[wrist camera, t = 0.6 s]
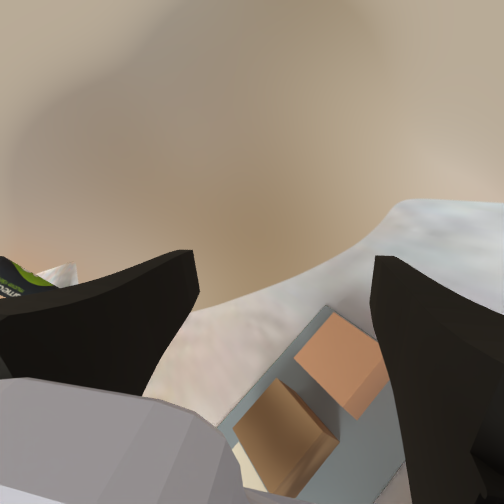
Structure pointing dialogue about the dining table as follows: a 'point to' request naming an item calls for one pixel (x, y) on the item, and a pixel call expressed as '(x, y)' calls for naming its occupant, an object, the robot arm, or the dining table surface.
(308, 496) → the board
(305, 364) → the terracotta block
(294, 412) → the walnut block
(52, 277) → the dining table surface
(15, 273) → the beverage can
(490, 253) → the dining table surface
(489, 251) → the dining table surface
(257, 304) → the dining table surface
